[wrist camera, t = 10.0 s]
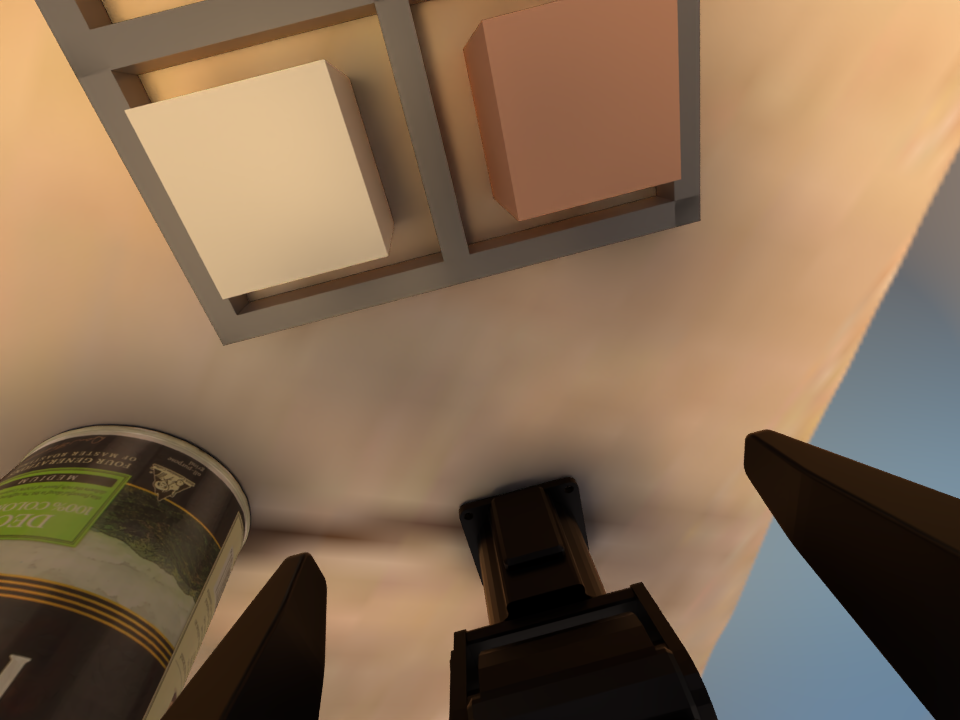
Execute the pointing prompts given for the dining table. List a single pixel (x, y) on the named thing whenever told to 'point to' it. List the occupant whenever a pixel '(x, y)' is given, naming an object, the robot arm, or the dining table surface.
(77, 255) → the dining table surface
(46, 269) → the dining table surface
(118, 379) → the dining table surface
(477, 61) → the terracotta block
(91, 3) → the charcoal frame
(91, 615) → the coffee can
